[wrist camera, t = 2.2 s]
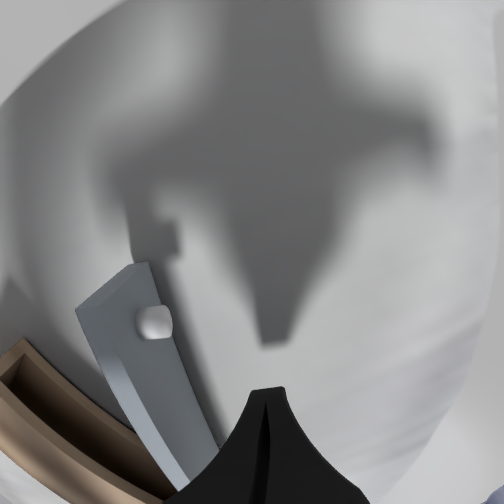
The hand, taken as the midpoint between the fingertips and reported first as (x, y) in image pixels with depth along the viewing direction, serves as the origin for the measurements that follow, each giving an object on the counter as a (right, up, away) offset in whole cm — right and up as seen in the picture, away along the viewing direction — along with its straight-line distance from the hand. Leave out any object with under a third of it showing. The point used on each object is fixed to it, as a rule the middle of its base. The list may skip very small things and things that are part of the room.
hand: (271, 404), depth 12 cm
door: (-4, -2, +3) cm, 5 cm away
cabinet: (-12, -8, +5) cm, 15 cm away
